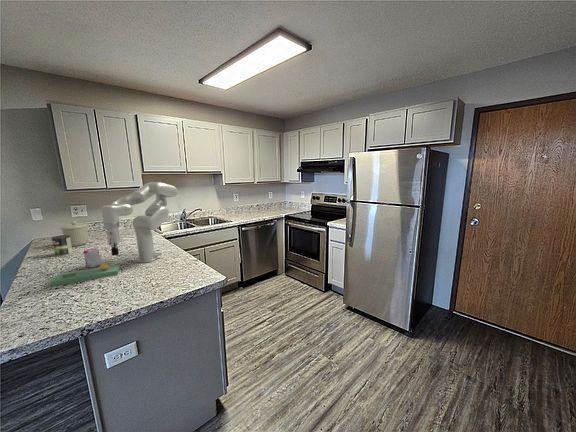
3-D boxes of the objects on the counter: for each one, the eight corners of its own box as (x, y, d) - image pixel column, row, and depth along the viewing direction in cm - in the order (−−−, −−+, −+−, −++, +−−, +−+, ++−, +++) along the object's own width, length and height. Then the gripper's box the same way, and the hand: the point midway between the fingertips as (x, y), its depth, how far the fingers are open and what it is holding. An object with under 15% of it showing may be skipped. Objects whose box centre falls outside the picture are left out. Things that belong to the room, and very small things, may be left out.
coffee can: (61, 257, 176) (57, 238, 173) (51, 256, 178) (47, 238, 175) (76, 252, 185) (73, 235, 183) (66, 251, 188) (63, 234, 185)
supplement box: (101, 264, 159) (98, 248, 157) (92, 268, 153) (89, 251, 151) (95, 264, 160) (92, 248, 158) (86, 267, 155) (82, 250, 153)
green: (120, 267, 153) (119, 264, 153) (117, 274, 143) (117, 270, 142) (58, 278, 139) (58, 274, 139) (51, 286, 129) (50, 282, 128)
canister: (79, 247, 198) (74, 223, 194) (58, 248, 198) (53, 223, 194) (96, 241, 216) (92, 219, 212) (77, 241, 216) (73, 219, 212)
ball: (109, 267, 147) (108, 261, 146) (108, 270, 143) (107, 263, 143) (101, 269, 145) (100, 263, 144) (99, 271, 142) (98, 265, 141)
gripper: (117, 227, 138) (121, 257, 141) (120, 223, 151) (124, 250, 154) (101, 228, 134) (105, 259, 137) (106, 224, 147) (109, 252, 150)
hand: (115, 254), depth 145 cm, fingers closed
